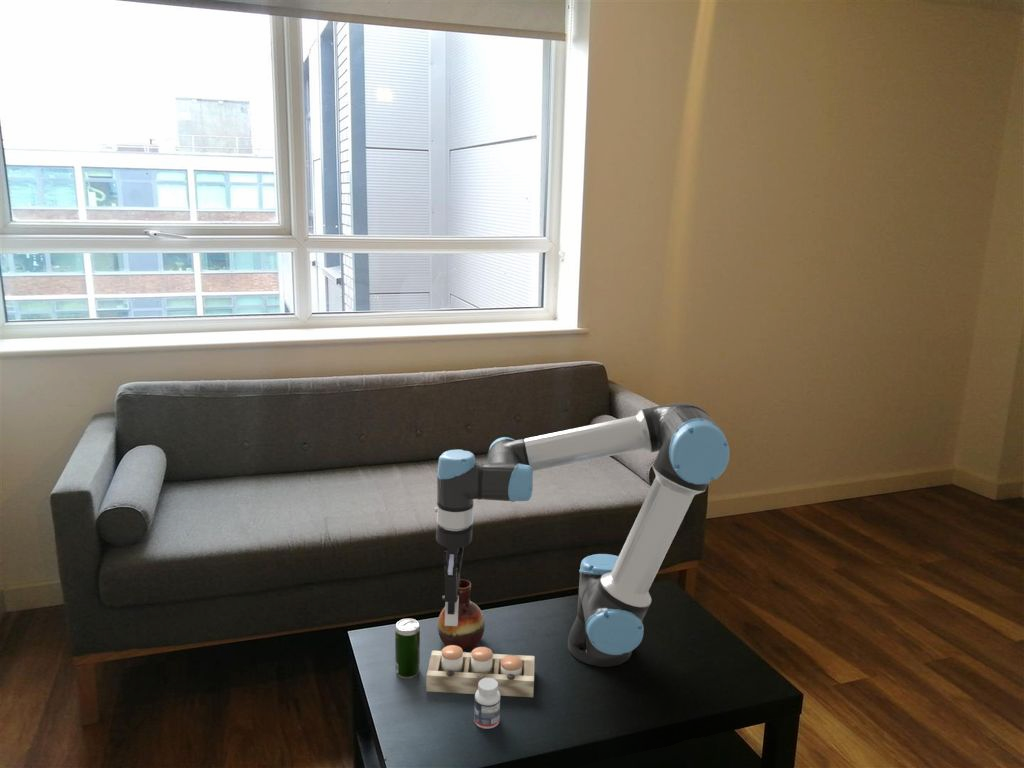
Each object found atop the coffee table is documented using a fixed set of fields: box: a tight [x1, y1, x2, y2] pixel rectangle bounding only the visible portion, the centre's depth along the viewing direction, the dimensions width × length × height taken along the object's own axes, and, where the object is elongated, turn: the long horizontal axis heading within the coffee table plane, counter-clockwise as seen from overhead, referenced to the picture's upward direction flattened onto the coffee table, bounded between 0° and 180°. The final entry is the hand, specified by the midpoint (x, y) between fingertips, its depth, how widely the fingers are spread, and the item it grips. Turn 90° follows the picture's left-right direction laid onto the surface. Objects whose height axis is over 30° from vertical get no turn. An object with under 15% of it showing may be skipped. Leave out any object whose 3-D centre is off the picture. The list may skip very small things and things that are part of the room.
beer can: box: [394, 618, 421, 680], centre depth 176 cm, size 5×5×12 cm
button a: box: [501, 656, 522, 676], centre depth 174 cm, size 5×5×4 cm
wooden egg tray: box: [425, 650, 535, 698], centre depth 175 cm, size 23×9×4 cm, turn 88°
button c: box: [441, 645, 464, 672], centre depth 174 cm, size 5×5×4 cm
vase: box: [437, 578, 486, 652], centre depth 188 cm, size 11×11×15 cm
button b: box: [471, 646, 494, 674], centre depth 174 cm, size 5×5×4 cm
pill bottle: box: [473, 678, 501, 730], centre depth 162 cm, size 5×5×9 cm
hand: (451, 623), depth 172 cm, fingers closed
